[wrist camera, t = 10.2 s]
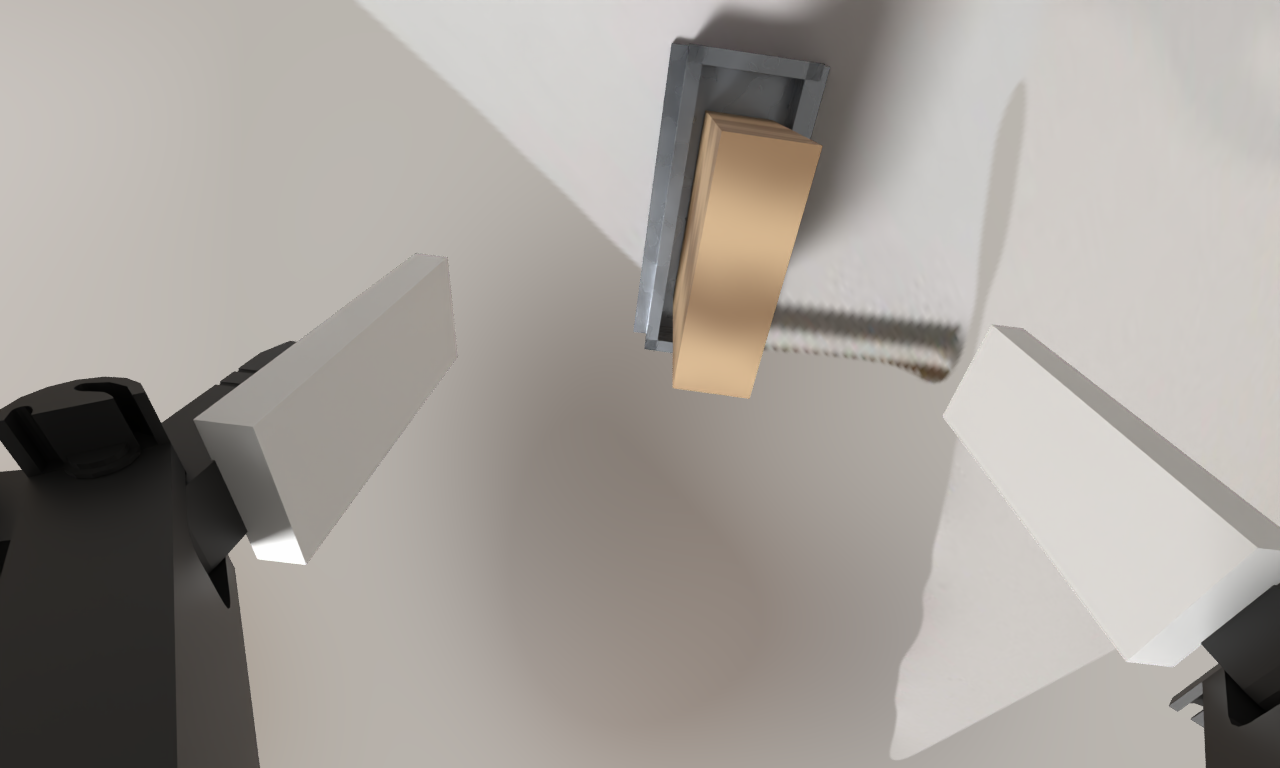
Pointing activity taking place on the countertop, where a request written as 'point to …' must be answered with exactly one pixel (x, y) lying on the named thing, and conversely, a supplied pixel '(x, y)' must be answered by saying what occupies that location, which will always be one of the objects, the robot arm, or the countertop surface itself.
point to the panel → (736, 248)
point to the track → (690, 90)
